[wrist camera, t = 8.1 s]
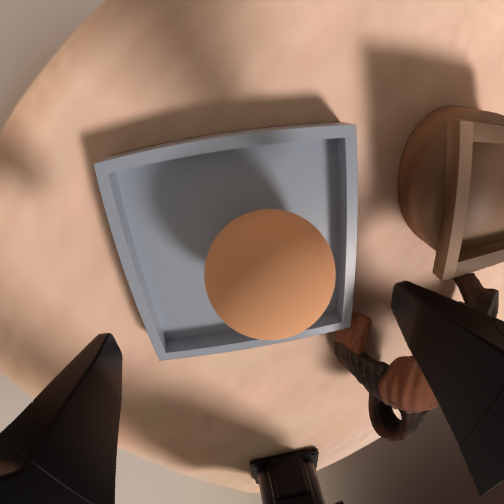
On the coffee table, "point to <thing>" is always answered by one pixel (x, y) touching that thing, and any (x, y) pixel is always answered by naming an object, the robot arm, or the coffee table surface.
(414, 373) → the pottery mug
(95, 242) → the coffee table surface
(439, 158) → the open wooden box
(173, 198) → the tray
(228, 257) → the ball
